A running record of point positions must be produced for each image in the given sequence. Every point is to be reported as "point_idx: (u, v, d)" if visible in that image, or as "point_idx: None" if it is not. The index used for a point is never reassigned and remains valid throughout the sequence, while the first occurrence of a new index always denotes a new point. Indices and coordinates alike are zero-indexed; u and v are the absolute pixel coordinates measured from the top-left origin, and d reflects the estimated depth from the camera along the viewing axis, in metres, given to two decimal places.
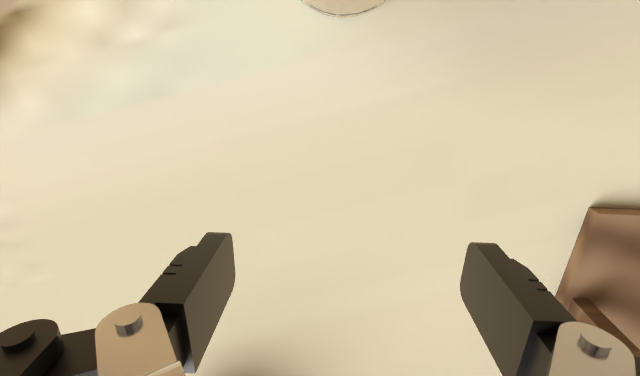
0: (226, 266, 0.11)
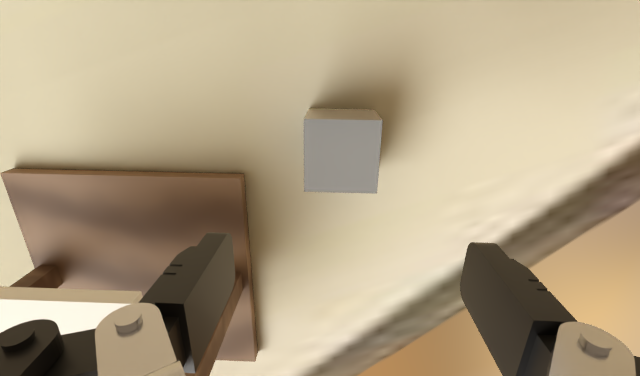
0: (226, 266, 0.11)
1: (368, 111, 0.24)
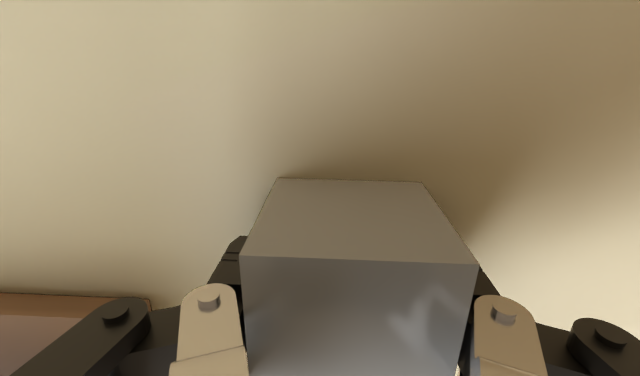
0: None
1: (413, 195, 0.10)
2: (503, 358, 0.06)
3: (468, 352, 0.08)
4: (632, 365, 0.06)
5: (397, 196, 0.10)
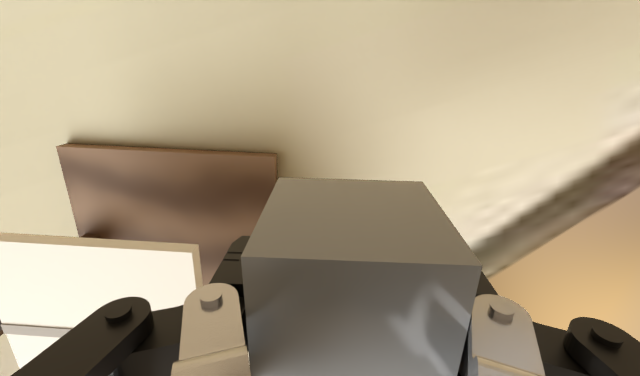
0: None
1: (415, 195, 0.10)
2: (500, 357, 0.06)
3: (466, 351, 0.08)
4: (629, 364, 0.06)
5: (399, 197, 0.10)
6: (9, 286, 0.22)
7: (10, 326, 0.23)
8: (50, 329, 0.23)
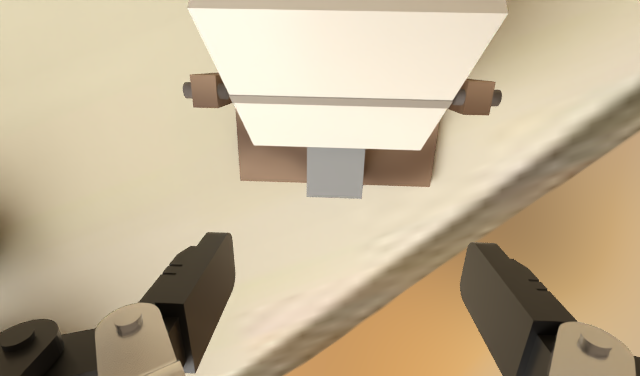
0: (226, 266, 0.11)
1: (358, 159, 0.29)
2: None
3: None
4: None
5: (352, 160, 0.29)
6: (240, 60, 0.18)
7: (238, 96, 0.21)
8: (283, 98, 0.21)
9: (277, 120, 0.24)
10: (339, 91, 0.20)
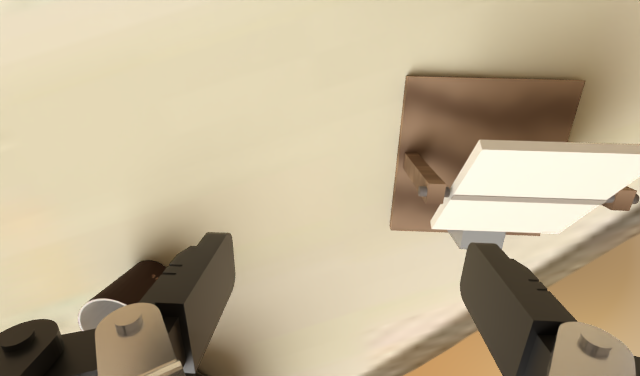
0: (226, 266, 0.11)
1: None
2: None
3: None
4: None
5: None
6: (484, 175, 0.28)
7: (458, 196, 0.31)
8: (488, 197, 0.31)
9: (469, 211, 0.33)
10: (532, 193, 0.30)
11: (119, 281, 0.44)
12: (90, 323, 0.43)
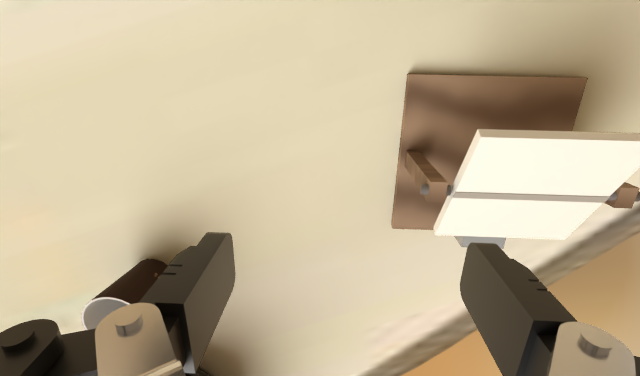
0: (226, 266, 0.11)
1: None
2: None
3: None
4: None
5: None
6: (484, 167, 0.28)
7: (459, 193, 0.31)
8: (491, 194, 0.31)
9: (472, 212, 0.33)
10: (534, 189, 0.30)
11: (122, 280, 0.44)
12: (93, 321, 0.43)
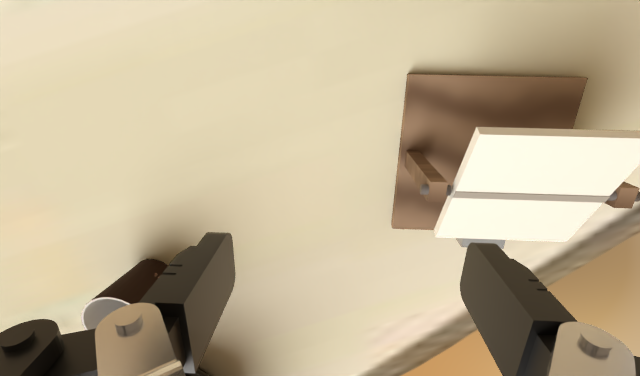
0: (226, 266, 0.11)
1: None
2: None
3: None
4: None
5: None
6: (484, 166, 0.28)
7: (460, 193, 0.31)
8: (491, 194, 0.31)
9: (473, 213, 0.33)
10: (534, 189, 0.30)
11: (122, 280, 0.44)
12: (93, 321, 0.43)
